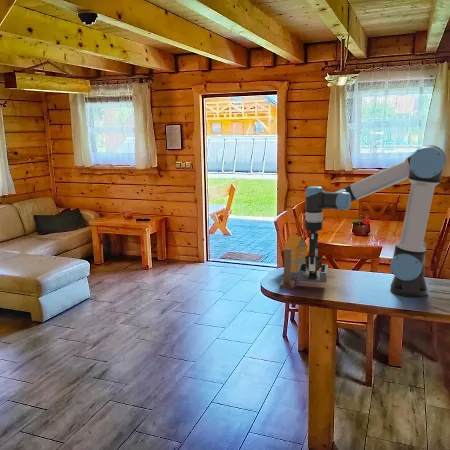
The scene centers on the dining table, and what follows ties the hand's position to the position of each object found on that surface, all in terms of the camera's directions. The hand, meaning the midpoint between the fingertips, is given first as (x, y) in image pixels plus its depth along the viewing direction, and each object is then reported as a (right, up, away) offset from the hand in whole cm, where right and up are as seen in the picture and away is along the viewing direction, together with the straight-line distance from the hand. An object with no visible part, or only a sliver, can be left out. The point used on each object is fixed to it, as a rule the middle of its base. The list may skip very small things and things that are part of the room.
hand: (313, 266), depth 204 cm
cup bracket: (-4, -10, +3) cm, 11 cm away
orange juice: (-4, -6, +24) cm, 25 cm away
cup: (+1, -4, +3) cm, 5 cm away
